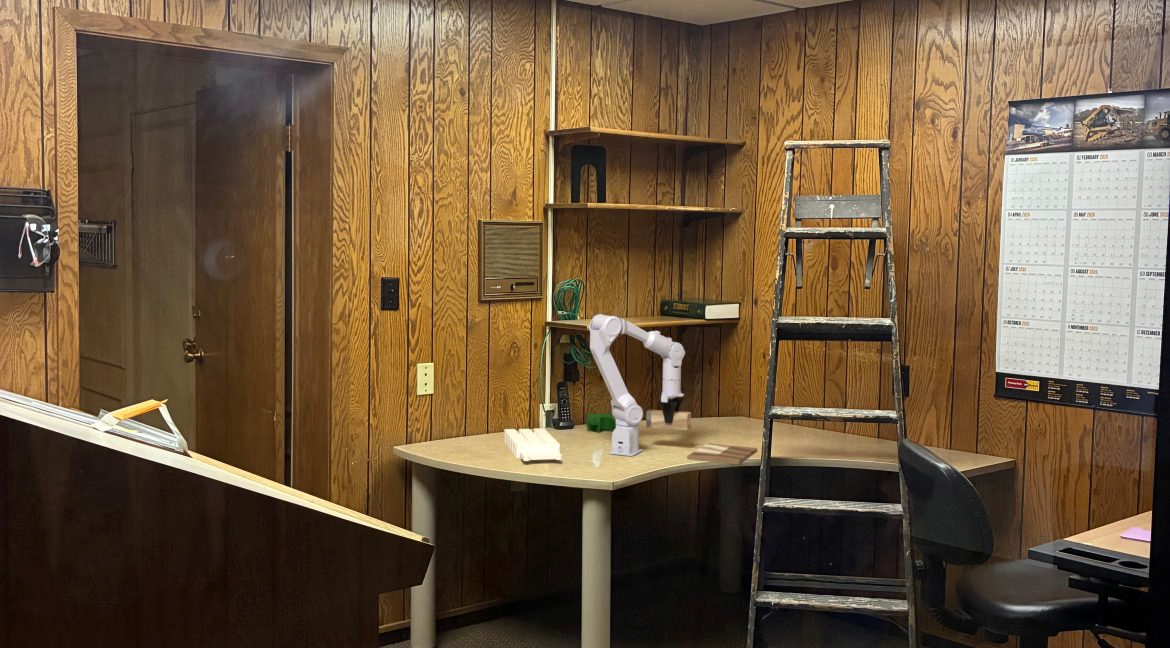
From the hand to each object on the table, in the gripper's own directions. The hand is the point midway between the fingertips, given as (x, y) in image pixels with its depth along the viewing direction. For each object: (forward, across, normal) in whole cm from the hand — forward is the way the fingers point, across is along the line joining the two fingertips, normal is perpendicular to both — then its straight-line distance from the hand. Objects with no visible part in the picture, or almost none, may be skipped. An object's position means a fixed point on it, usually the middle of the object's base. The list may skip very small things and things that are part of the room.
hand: (670, 421), depth 325 cm
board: (+9, -2, -18) cm, 20 cm away
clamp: (+9, +19, +30) cm, 37 cm away
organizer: (+9, -26, +36) cm, 45 cm away
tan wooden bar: (+2, 0, 0) cm, 2 cm away
